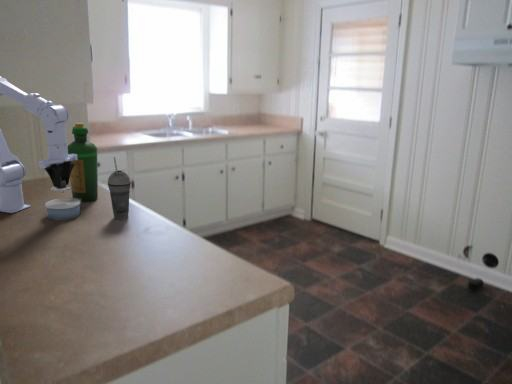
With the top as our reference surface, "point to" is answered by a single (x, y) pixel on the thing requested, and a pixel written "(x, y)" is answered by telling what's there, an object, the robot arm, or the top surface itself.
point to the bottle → (83, 165)
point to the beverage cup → (119, 193)
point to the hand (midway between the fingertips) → (61, 185)
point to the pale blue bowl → (63, 208)
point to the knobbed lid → (62, 187)
